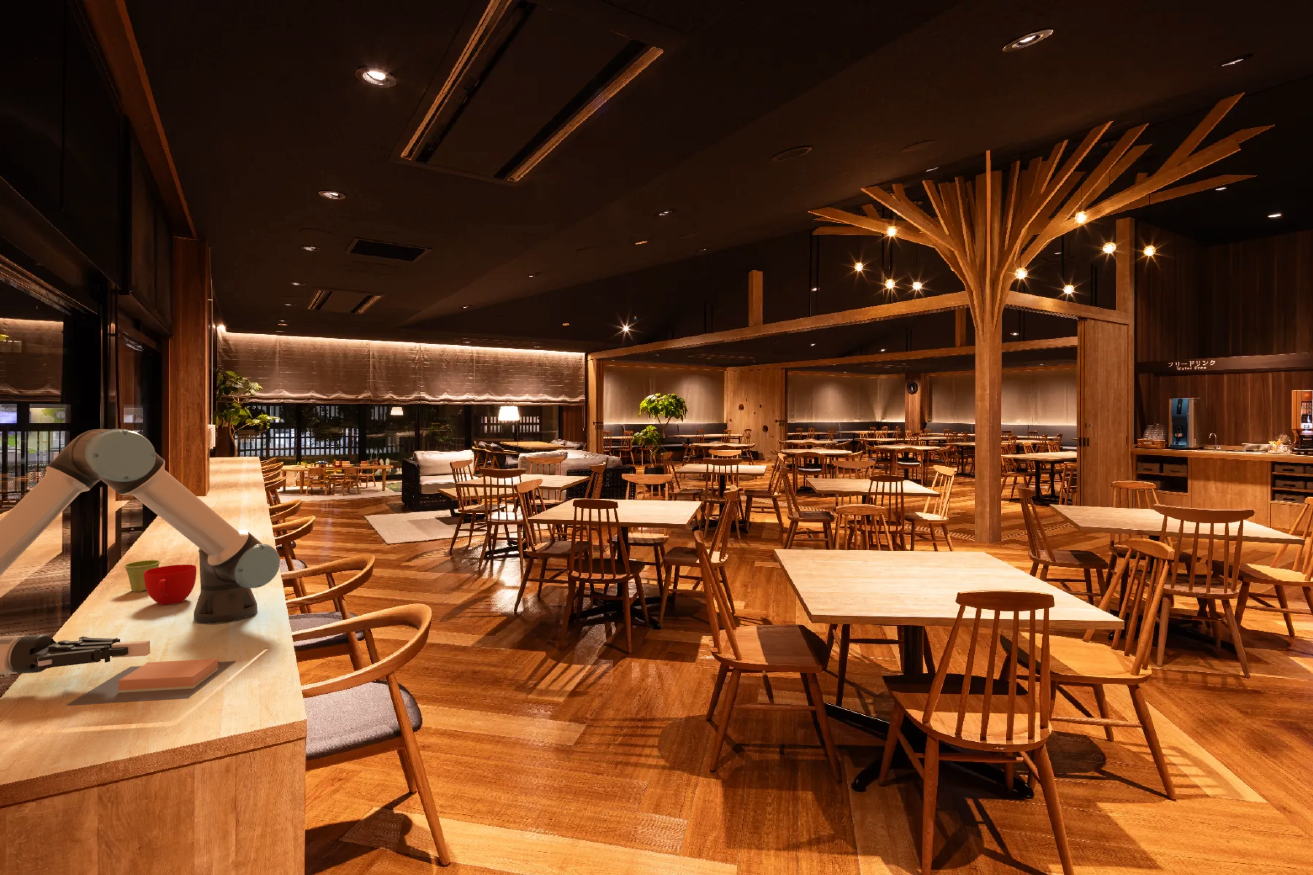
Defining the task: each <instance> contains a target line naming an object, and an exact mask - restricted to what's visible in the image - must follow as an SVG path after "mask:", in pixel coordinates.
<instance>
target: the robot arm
mask: <svg viewBox="0 0 1313 875" xmlns="http://www.w3.org/2000/svg"><path fill="white" fill-rule="evenodd" d="M165 465H166V461H165V459H164V458H163V457H161V456H160V455H159V454H158V453H157V452H156V451H155V447H154V445H153V444H152V443H151V441H150V440H149V439H148V438H147V437H145V436H143V435H142V434H140V433H138V432H136V431H133V430H129V429H127V428H126V429H125V428H112V429H109V428H108V429H107V428H97V429H96V428H95V429H91V430H87V431H84V432H82V433H80V434H79V435H77V436H76V437H75V438H74V439H72V440H71V441H70V442H69V443H68V444H67V445H66V446H65V448H63V449H62V450H61V452H59V454H57V456H56V457H55V458H54V459H53V460H52V461H51V462H50V463H49V464H48V465H47V466H46V467H45V470H46V473H45V475H44V476H43V477H42V478H41V479H40V480H39V481H38V482H37V483H36V484H35V485H34V486H33V487H32V488H31V489H30V490H29V491H28V492H27V493H26V494H25V495H24V496H23V498H21V500H19V501H18V502H17V503H16V504H15V505H14V506H13V507H12V508H11V509H10V510H9V512H8V513H7V514H5V515H4V516H3V518H2V519H1V520H0V577H1V576H2V575H4V573H5V572H6V571H7V570H8V569H9V568H10V567H11V566H12V565H13V564H14V563H15V562H16V560H18V558H19V557H20V556H21V555H23V553H24V552H25V551H26V550H27V549H28V548H29V547H30V546H31V545H32V544H34V542H35V541H36V540H37V538H38V537H39V536H40V535H41V534H42V533H43V532H44V531H45V530H46V529H47V528H48V527H49V526H50V525H51V524H52V523H53V522H54V521H55V520H56V519H57V518H58V517H59V516H60V514H61V513H63V511H64V510H65V509H66V508H67V507H68V506H69V505H70V504H71V503H72V502H73V501H74V500H75V499H76V498H77V497H78V496H79V495H80V494H81V493H83V492H88V491H90V490H91V489H92V488H93V487H94V486H95V485H96V484H97V483H98V482H100V481H102V482H103V483H104V484H106V485H107V486H108V487H109V488H111V489H112V490H113V491H115V492H116V493H117V494H118V495H121V496H128V495H129V496H130V495H131V496H133V497H134V498H135V499H137V500H138V501H139V502H141V503H142V504H143V505H144V506H146V507H147V508H148V509H149V510H150V511H152V512H153V513H154V514H156V515H157V516H158V517H159V518H161V519H162V520H164V521H165V522H166V523H167V524H169V525H170V526H171V527H172V528H173V529H175V530H176V531H177V532H179V533H180V535H183V536H184V537H185V538H186V539H188V541H190V542H191V543H192V544H194V545H195V546H197V547H198V548H199V549H198V556H199V557H198V558H199V560H198V561H199V579H200V580H199V582H200V593H199V596H198V598H197V602H196V605H195V607H194V610H193V621H194V622H195V623H198V624H222V623H223V624H224V623H229V622H236V621H240V620H243V619H246V618H249V617H251V616H254V615H255V614H257V613H258V602H257V600H256V597H255V595H254V593H253V590H252V589H257V588H261V587H264V586H266V585H267V584H269V583H270V582H272V580H274V578H276V576H277V574H278V572H279V570H280V565H281V563H280V562H281V558H280V554H279V552H278V551H277V549H275V548H274V547H272V546H271V545H269V544H268V543H262V542H261V541H260V540H258V539H257V538H256V537H255V536H254V535H252V533H250V532H249V531H248V530H246V529H236V528H235V527H234V526H232V525H231V524H230V523H229V522H227V521H226V520H225V519H224V518H223V517H221V516H220V515H219V514H218V513H217V512H215V511H214V510H213V509H212V508H210V507H209V506H208V505H207V504H206V503H205V502H204V501H202V500H201V499H200V498H199V497H198V496H197V495H195V494H194V493H193V492H192V491H191V490H189V489H188V487H186V486H185V485H184V484H182V482H180V481H179V480H177V479H176V478H175V477H174V476H173V475H172V474H170V473H169V472H168V471H167V470H165V468H166V467H165ZM150 654H151V640H138V641H137V640H135V641H121V639H120V638H118V637H115V638H110V637H109V638H106V637H89V636H80V637H78V640H68V639H66V640H65V639H64V640H58V641H55V639H54V638H53V637H52V636H50V635H48V634H33V635H31V634H30V635H23V634H22V635H7V636H0V675H4V677H10V676H11V675H13V674H15V675H16V674H22V675H23V674H36V673H41V672H44V671H45V670H47V669H52V668H57V667H58V668H59V667H68V666H75V665H76V666H77V665H83V664H84V665H85V664H93V663H94V664H95V663H100V662H101V661H102V660H104V663H110V662H111V658H128V657H129V658H131V657H133V658H134V657H147V656H148V655H150Z"/></svg>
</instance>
